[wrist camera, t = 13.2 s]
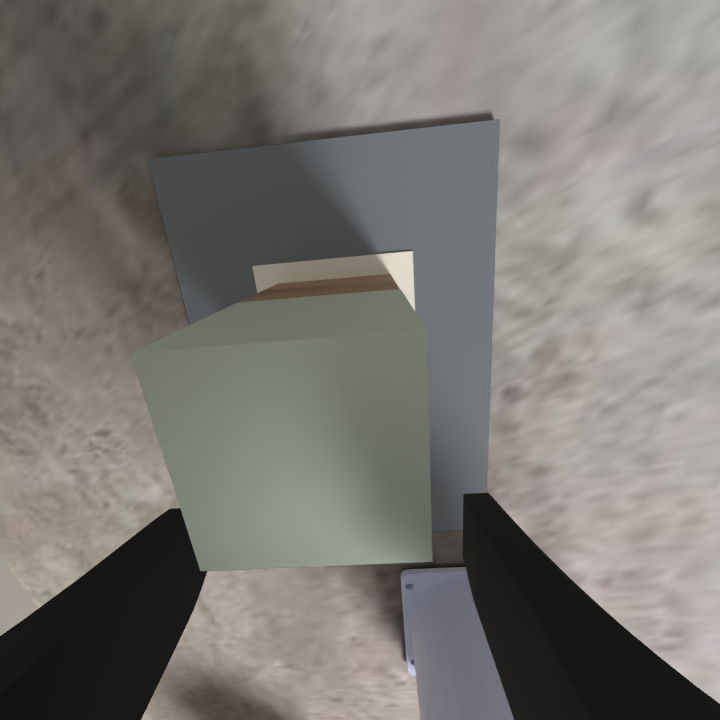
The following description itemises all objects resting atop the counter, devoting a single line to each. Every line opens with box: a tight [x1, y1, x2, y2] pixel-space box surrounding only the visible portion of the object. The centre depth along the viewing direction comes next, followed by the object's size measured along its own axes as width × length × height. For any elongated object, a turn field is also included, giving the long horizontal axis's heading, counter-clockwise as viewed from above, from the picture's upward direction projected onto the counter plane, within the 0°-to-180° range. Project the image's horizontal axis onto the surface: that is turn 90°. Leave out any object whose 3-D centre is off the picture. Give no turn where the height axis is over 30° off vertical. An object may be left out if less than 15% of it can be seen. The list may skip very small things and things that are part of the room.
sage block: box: [131, 289, 433, 571], centre depth 9 cm, size 5×5×5 cm
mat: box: [147, 119, 500, 532], centre depth 17 cm, size 20×14×1 cm
